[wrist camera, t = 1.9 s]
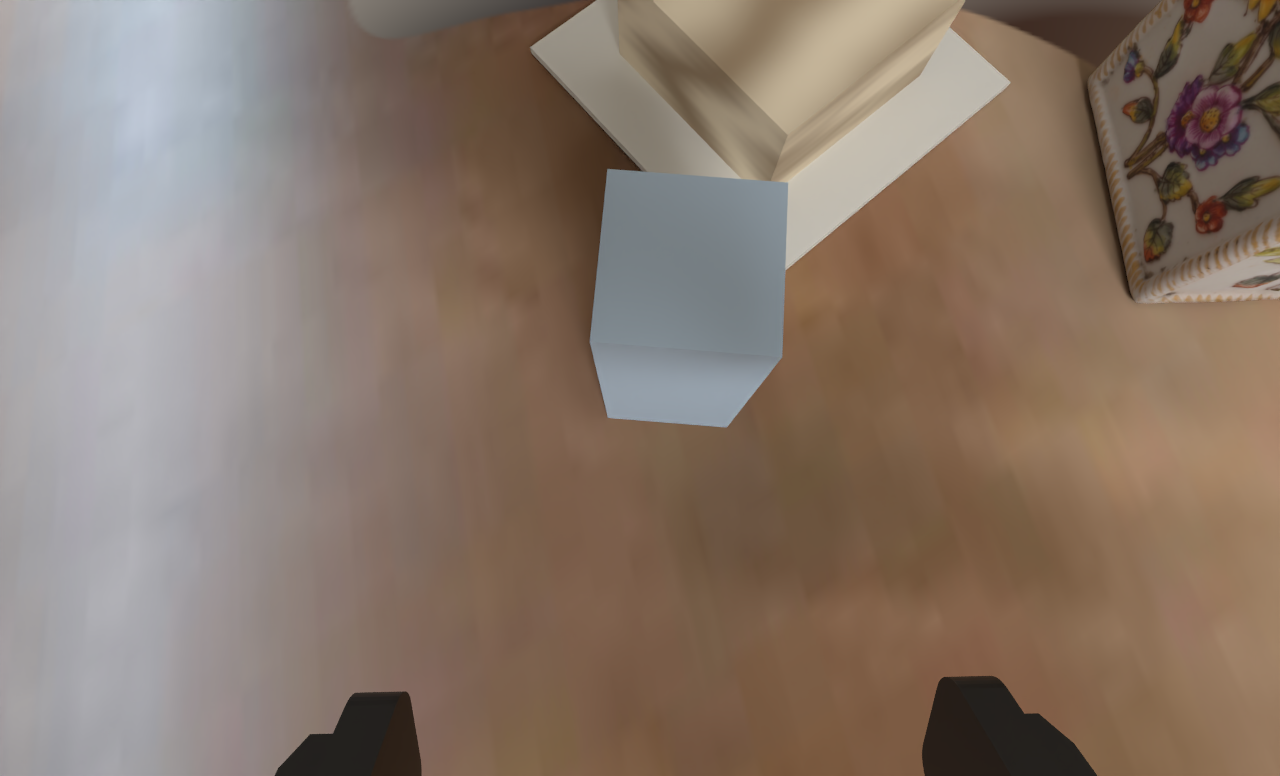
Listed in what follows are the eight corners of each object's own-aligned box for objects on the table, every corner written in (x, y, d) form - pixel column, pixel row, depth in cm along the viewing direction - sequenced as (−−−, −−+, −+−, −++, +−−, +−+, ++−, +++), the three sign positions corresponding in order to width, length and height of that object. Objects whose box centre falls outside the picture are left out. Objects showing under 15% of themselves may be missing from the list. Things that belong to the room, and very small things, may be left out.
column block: (607, 417, 28) (589, 341, 17) (618, 305, 29) (607, 169, 18) (726, 427, 28) (782, 357, 17) (732, 314, 29) (788, 182, 18)
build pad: (531, 53, 32) (530, 47, 32) (776, -120, 34) (777, -128, 34) (757, 293, 29) (759, 290, 29) (1005, 87, 32) (1010, 82, 31)
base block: (619, 53, 31) (616, -36, 27) (774, -59, 33) (798, -163, 28) (763, 201, 30) (787, 135, 25) (919, 75, 31) (972, -11, 26)
